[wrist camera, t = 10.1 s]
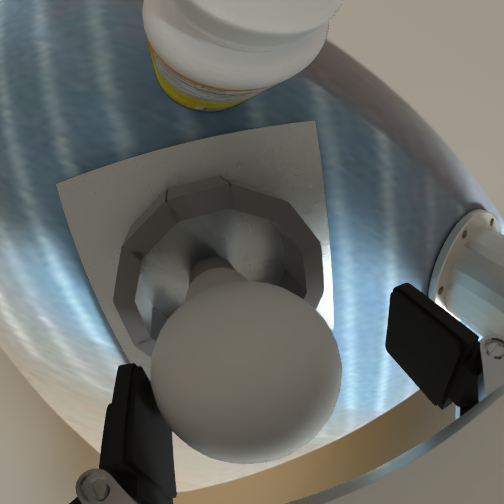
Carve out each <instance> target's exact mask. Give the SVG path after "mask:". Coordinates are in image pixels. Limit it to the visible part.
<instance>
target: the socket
mask: <svg viewBox="0 0 504 504" xmlns="http://www.w3.org/2000/svg"><path fill="white" fill-rule="evenodd" d="M225 209H233V210H236V211H240V212H243V213H247V214H250V215H254V216H257V217H261V218H264V219H267V220H269V222H270V223H271V224H272V225H273V226H274V227H275V228H276V230H277V231H278V232H279V233H280V234H281V240H282V247H283V253H284V260H285V267H286V269H285V271H284V274H283V276H282V279H281V281H280V284H279V287H282V288H284V289H286V290H288V291H290V292H292V293H293V294H295V295H297V296H299V297H300V298H302V299H304V300H305V301H307V302H308V303H309V304H310V305H311V306H312V307H313V308H315V309H317V307H318V304H319V302H320V300H321V298H322V296H323V294H324V290H325V287H324V272H323V259H322V247H321V242H320V241H319V240H318V238H317V237H316V236H315V235H314V233H313V232H312V231H311V229H310V228H309V227H308V226H307V224H306V223H305V222H304V220H303V219H302V218H301V217H300V215H299V214H298V213H297V212H296V210H295V209H294V208H293V207H292V205H291V204H290V203H289V202H287V201H286V200H284V199H282V198H280V197H278V196H276V195H274V194H273V193H271V192H269V191H267V190H264V189H261V188H258V187H255V186H252V185H248V184H245V183H242V182H239V181H236V180H232V179H229V178H226V177H223V176H215V177H211V178H207V179H203V180H199V181H195V182H191V183H187V184H183V185H179V186H175V187H172V188H168V190H167V189H166V190H165V191H164V192H163V193H162V194H161V195H160V196H159V197H158V198H157V199H156V200H155V201H154V202H153V203H152V204H151V205H150V206H149V208H148V209H147V210H146V211H145V212H144V213H143V214H142V215H141V216H140V217H139V218H138V219H137V220H136V221H135V222H134V223H133V224H132V225H131V227H130V229H129V231H128V234H127V236H126V238H125V240H124V243H123V245H122V248H121V253H120V258H119V264H118V270H117V276H116V282H115V289H114V296H113V303H114V305H115V307H116V309H117V312H118V314H119V316H120V318H121V320H122V322H123V324H124V326H125V328H126V330H127V332H128V334H129V336H130V338H131V340H132V342H133V344H134V345H135V347H136V348H138V349H139V350H141V351H142V352H144V353H145V354H147V355H148V356H150V357H151V356H152V353H153V350H154V347H155V344H156V341H157V338H158V336H159V333H160V331H161V329H162V328H163V326H164V324H165V323H166V321H167V320H168V318H167V317H166V316H165V315H163V314H162V313H161V312H160V311H158V310H157V309H156V308H154V307H153V306H152V304H151V301H150V299H149V296H148V294H147V291H146V288H145V286H144V283H143V281H142V278H141V275H140V270H141V265H142V260H143V257H144V256H145V255H146V254H147V253H148V252H149V251H150V250H151V249H152V248H153V247H154V246H155V245H156V244H157V243H158V242H159V241H160V240H161V239H162V238H163V237H164V236H165V235H166V234H167V233H168V232H169V231H170V230H171V229H172V228H173V227H174V226H175V225H176V224H177V223H178V222H180V221H183V220H187V219H191V218H195V217H198V216H202V215H206V214H210V213H214V212H218V211H222V210H225Z"/></svg>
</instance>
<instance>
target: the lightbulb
mask: <svg viewBox="0 0 504 504" xmlns="http://www.w3.org/2000/svg"><path fill="white" fill-rule="evenodd" d="M341 376H342V364H341V359H340V354H339V350H338V346H337V342H336V340H335V338H334V336H333V333H332V331H331V329H330V328H329V326H328V324H327V323H326V321H325V320H324V318H323V317H322V316H321V315H320V314H319V313H318V311H317V310H316V309H315V308H313V307H312V306H311V305H310V304H309V303H308V302H307V301H305V300H304V299H302V298H300V297H299V296H297V295H295V294H293V293H292V292H290V291H288V290H286V289H284V288H282V287H279V286H275V285H272V284H269V283H262V282H251V281H248V280H247V279H246V278H245V277H244V276H243V275H242V274H241V273H239V272H237V271H236V269H235V268H234V267H233V266H232V264H231V263H230V262H228V261H227V260H225V259H223V258H220V257H208V258H205V259H203V260H201V261H199V262H198V263H197V264H196V265H195V266H194V267H193V269H192V270H191V273H190V277H189V288H188V290H187V293H186V301H185V302H184V303H183V304H182V305H181V306H180V307H179V308H178V309H177V310H176V311H175V312H174V313H173V314H172V315H171V316H170V317H169V318H168V320H167V321H166V323H165V324H164V326H163V328H162V329H161V331H160V333H159V336H158V338H157V341H156V344H155V347H154V350H153V353H152V356H151V387H152V390H153V394H154V397H155V400H156V404H157V407H158V409H159V411H160V413H161V415H162V416H163V418H164V420H165V421H166V423H167V424H168V426H169V427H170V429H171V430H172V431H173V432H174V433H175V434H176V435H177V436H178V437H179V438H180V439H182V440H183V441H184V442H185V443H186V444H188V445H189V446H190V447H192V448H193V449H195V450H197V451H198V452H200V453H202V454H204V455H206V456H208V457H210V458H213V459H217V460H220V461H225V462H230V463H236V464H255V463H263V462H269V461H273V460H276V459H279V458H282V457H284V456H287V455H289V454H291V453H293V452H294V451H296V450H298V449H299V448H301V447H302V446H304V445H305V444H307V443H308V442H309V441H310V440H311V439H313V438H314V437H315V436H316V435H317V433H318V432H319V431H320V430H321V429H322V427H323V426H324V425H325V424H326V422H327V421H328V420H329V418H330V416H331V415H332V413H333V410H334V407H335V404H336V402H337V399H338V396H339V393H340V386H341Z"/></svg>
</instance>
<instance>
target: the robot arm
mask: <svg viewBox="0 0 504 504" xmlns="http://www.w3.org/2000/svg"><path fill="white" fill-rule="evenodd" d="M460 321H462V322H464V323H465V324H466V325H468V326H469V327H470V328H472V329H473V330H474V331H476V332H477V333H478V334H480V335H481V336H482V337H483V338H484V339H483V340H482V341H481V343H479V342H478V338H479V337H478V336H477V335H476V334H475V333H474V332H472V331H471V330H470V329H469V328H467V327H466V326H465V325H464V324H462V323H461V322H460ZM385 346H386V350H387V352H388V353H389V354H390V355H391V356H392V358H393V359H394V360H395V361H396V362H397V363H398V364H399V365H400V367H401V368H402V369H403V370H404V371H405V372H406V373H407V374H408V376H409V377H410V378H411V379H412V380H413V381H414V382H415V384H416V385H417V386H418V387H419V388H420V389H421V390H422V392H423V393H424V394H425V395H426V396H427V397H428V399H429V400H430V401H431V402H432V403H433V404H434V405H438V406H439V407H440V408H441V409H444V408H445V407H447V406H449V405H450V404H451V403H452V402H454V403H455V404H456V419H455V421H454V422H452V423H451V424H450V425H448V426H447V427H445V428H444V429H442V430H441V431H439V432H438V433H437V434H435V435H433V436H432V437H430V438H429V439H427V440H426V441H424V442H423V443H421V444H419V445H418V446H416V447H414V448H413V449H411V450H409V451H408V452H406V453H404V454H402V455H400V456H399V457H397V458H395V459H393V460H391V461H389V462H388V463H386V464H384V465H382V466H380V467H378V468H376V469H374V470H372V471H370V472H368V473H365V474H363V475H361V476H359V477H357V478H354V479H352V480H350V481H348V482H345V483H343V484H340V485H338V486H335V487H333V488H330V489H328V490H325V491H322V492H319V493H317V494H314V495H311V496H308V497H305V498H302V499H299V500H296V501H292V502H289V503H286V504H504V235H503V234H501V233H500V228H499V224H498V221H497V219H496V218H495V216H494V215H493V214H492V213H491V212H488V211H485V210H483V209H476V210H473V211H471V212H469V213H468V214H466V215H465V216H464V217H463V218H462V219H461V220H460V221H459V222H458V223H457V224H456V226H455V227H454V228H453V230H452V231H451V232H450V234H449V236H448V238H447V239H446V241H445V243H444V245H443V247H442V249H441V251H440V253H439V255H438V258H437V261H436V264H435V266H434V269H433V273H432V277H431V280H430V286H429V295H428V297H427V296H426V295H424V294H423V293H422V292H420V291H419V290H418V289H416V288H415V287H414V286H412V285H411V284H409V283H404V284H402V285H399V286H397V287H395V288H394V289H393V292H392V293H391V295H390V306H389V317H388V327H387V335H386V343H385ZM76 494H77V496H78V497H77V498H75V499H74V500H73V501H72V502H71V503H70V504H173V498H175V497H176V495H177V492H176V482H175V471H174V459H173V444H172V430H171V429H170V427H169V426H168V424H167V423H166V421H165V420H164V418H163V416H162V415H161V413H160V411H159V409H158V407H157V404H156V400H155V397H154V394H153V390H152V387H151V382H150V380H149V378H148V377H147V375H146V373H145V371H144V369H143V368H142V367H141V366H137V365H136V364H135V363H131V364H125V365H120V366H119V367H118V371H117V376H116V382H115V387H114V393H113V399H112V403H111V404H109V405H108V407H107V411H106V417H105V424H104V431H103V438H102V446H101V455H100V465H99V469H90V470H87V471H86V472H84V473H83V474H82V475H81V476H80V477H79V479H78V480H77V482H76Z"/></svg>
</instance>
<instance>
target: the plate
mask: <svg viewBox="0 0 504 504" xmlns="http://www.w3.org/2000/svg"><path fill="white" fill-rule="evenodd" d="M215 176H223V177H226V178H229V179H232V180H236V181H239V182H242V183H245V184H248V185H252V186H255V187H258V188H261V189H264V190H267V191H269V192H271V193H273V194H274V195H276V196H278V197H280V198H282V199H284V200H286V201H287V202H289V203H290V204H291V205H292V207H293V208H294V209H295V210H296V212H297V213H298V214H299V215H300V217H301V218H302V219H303V220H304V222H305V223H306V224H307V226H308V227H309V228H310V229H311V231H312V232H313V233H314V235H315V236H316V237H317V238H318V240H319V241H320V242H321V247H322V259H323V272H324V287H325V290H324V294H323V296H322V298H321V300H320V302H319V304H318V307H317V309H316V310H317V311H318V313H319V314H320V315H321V316H322V317H323V318H324V320H325V321H326V323H327V324H328V326H329V328H330V329H334V322H333V292H332V272H331V255H330V241H329V229H328V218H327V207H326V197H325V188H324V179H323V171H322V163H321V156H320V148H319V141H318V135H317V128H316V122H315V120H314V121H304V122H296V123H288V124H281V125H274V126H267V127H261V128H255V129H249V130H243V131H238V132H233V133H228V134H223V135H218V136H213V137H208V138H204V139H199V140H195V141H191V142H186V143H182V144H178V145H174V146H170V147H167V148H163V149H159V150H155V151H152V152H148V153H145V154H141V155H138V156H135V157H131V158H128V159H125V160H122V161H119V162H115V163H112V164H109V165H106V166H103V167H100V168H98V169H95V170H92V171H89V172H86V173H83V174H81V175H78V176H75V177H73V178H70V179H68V180H65V181H62V182H60V183H58V184H56V187H57V190H58V194H59V197H60V201H61V204H62V207H63V210H64V214H65V217H66V220H67V223H68V226H69V229H70V232H71V235H72V238H73V240H74V243H75V246H76V249H77V251H78V254H79V256H80V259H81V262H82V264H83V267H84V269H85V272H86V274H87V276H88V279H89V281H90V284H91V286H92V288H93V290H94V293H95V295H96V297H97V299H98V302H99V304H100V306H101V308H102V310H103V312H104V314H105V316H106V318H107V320H108V322H109V324H110V326H111V328H112V330H113V332H114V334H115V336H116V338H117V340H118V342H119V344H120V346H121V347H122V349H123V351H124V353H125V355H126V357H127V358H128V360H129V362H130V364H131V363H135V364H136V365H137V366H141V367H142V368H143V369H144V371H145V373H146V375H147V377H148V378H149V380H150V382H151V357H150V356H148V355H147V354H145V353H144V352H142V351H141V350H139V349H138V348H136V347H135V345H134V344H133V342H132V340H131V338H130V336H129V334H128V332H127V330H126V328H125V326H124V324H123V322H122V320H121V318H120V316H119V314H118V312H117V309H116V307H115V305H114V303H113V296H114V289H115V282H116V276H117V270H118V264H119V258H120V253H121V248H122V245H123V243H124V240H125V238H126V236H127V234H128V231H129V229H130V227H131V225H132V224H133V223H134V222H135V221H136V220H137V219H138V218H139V217H140V216H141V215H142V214H143V213H144V212H145V211H146V210H147V209H148V208H149V206H150V205H151V204H152V203H153V202H154V201H155V200H156V199H157V198H158V197H159V196H160V195H161V194H162V193H163V192H164V191H165V190H166V189H167V190H168V188H172V187H175V186H179V185H183V184H187V183H191V182H195V181H199V180H203V179H207V178H211V177H215ZM208 257H220V258H223V259H225V260H227V261H228V262H230V263H231V264H232V266H233V267H234V268H235V269H236V271H237V272H239V273H241V274H242V275H243V276H244V277H245V278H246V279H247V280H248V281H251V282H262V283H269V284H272V285H275V286H279V284H280V281H281V279H282V276H283V274H284V271H285V269H286V267H285V260H284V253H283V247H282V240H281V234H280V233H279V232H278V231H277V230H276V228H275V227H274V226H273V225H272V224H271V223H270V222H269V220H267V219H264V218H261V217H257V216H254V215H250V214H247V213H243V212H240V211H236V210H233V209H225V210H222V211H218V212H214V213H210V214H206V215H202V216H198V217H195V218H191V219H187V220H183V221H180V222H178V223H177V224H176V225H175V226H174V227H173V228H172V229H171V230H170V231H169V232H168V233H167V234H166V235H165V236H164V237H163V238H162V239H161V240H160V241H159V242H158V243H157V244H156V245H155V246H154V247H153V248H152V249H151V250H150V251H149V252H148V253H147V254H146V255H145V256H144V257H143V260H142V265H141V270H140V275H141V278H142V281H143V283H144V286H145V288H146V291H147V294H148V296H149V299H150V301H151V304H152V306H153V307H154V308H156V309H157V310H158V311H160V312H161V313H162V314H163V315H165V316H166V317H167V318H169V317H170V316H171V315H172V314H173V313H174V312H175V311H176V310H177V309H178V308H179V307H180V306H181V305H182V304H183V303H184V302H185V301H186V293H187V290H188V288H189V277H190V273H191V270H192V269H193V267H194V266H195V265H196V264H197V263H198V262H199V261H201V260H203V259H205V258H208Z"/></svg>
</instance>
